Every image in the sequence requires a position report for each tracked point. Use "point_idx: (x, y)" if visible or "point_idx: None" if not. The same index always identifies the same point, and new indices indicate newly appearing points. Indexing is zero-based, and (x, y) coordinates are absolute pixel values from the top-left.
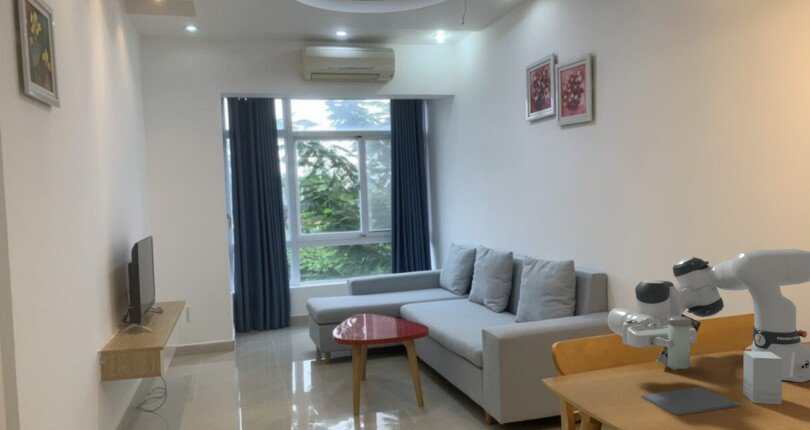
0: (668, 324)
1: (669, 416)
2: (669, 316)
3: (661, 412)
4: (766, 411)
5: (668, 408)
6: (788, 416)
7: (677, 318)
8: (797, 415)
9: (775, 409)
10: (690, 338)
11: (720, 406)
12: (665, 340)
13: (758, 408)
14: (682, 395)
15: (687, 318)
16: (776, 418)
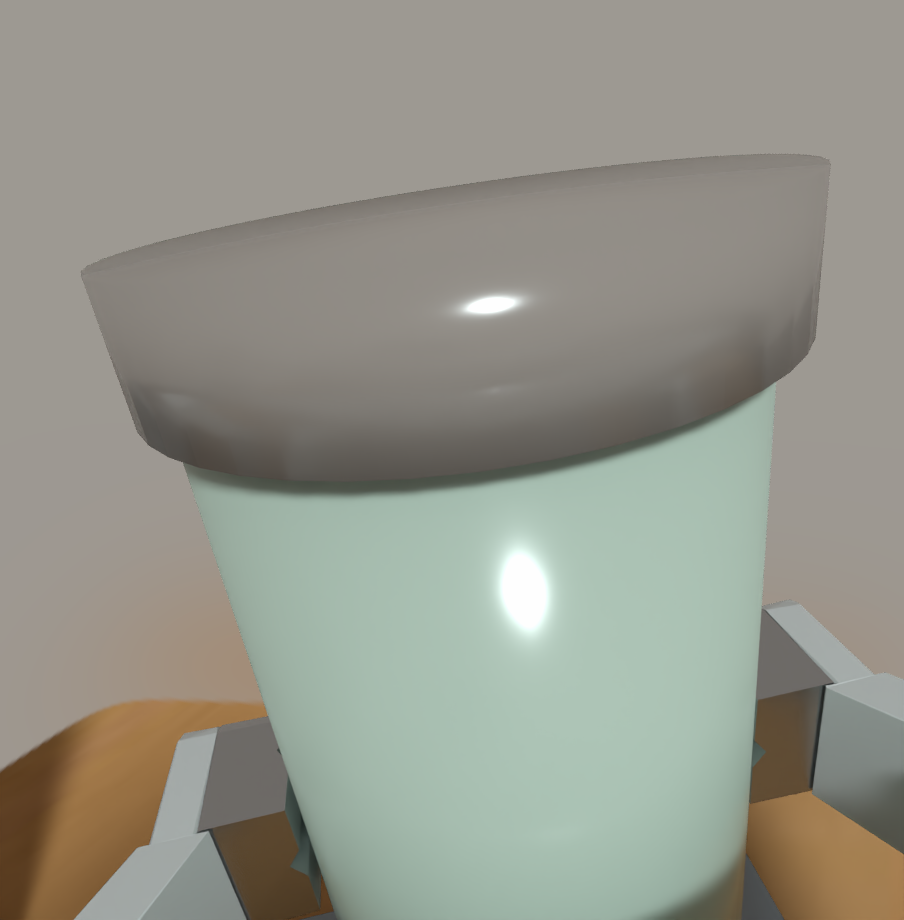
0: (774, 388)
1: (781, 820)
2: (674, 212)
3: (837, 900)
4: (93, 849)
5: (771, 917)
6: (71, 772)
7: (489, 199)
8: (12, 781)
9: (4, 876)
10: (242, 724)
11: (329, 917)
12: (840, 649)
13: (79, 905)
14: None
15: (213, 236)
16: (158, 752)
